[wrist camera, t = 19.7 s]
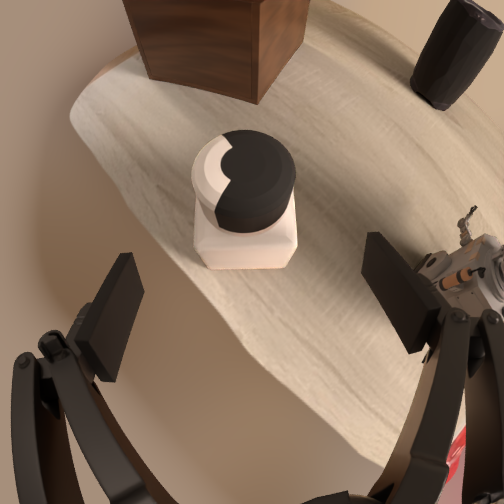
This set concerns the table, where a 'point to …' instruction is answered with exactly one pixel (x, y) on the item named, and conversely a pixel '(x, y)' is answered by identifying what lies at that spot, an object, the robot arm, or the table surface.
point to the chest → (218, 42)
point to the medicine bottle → (244, 202)
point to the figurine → (469, 272)
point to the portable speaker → (455, 52)
